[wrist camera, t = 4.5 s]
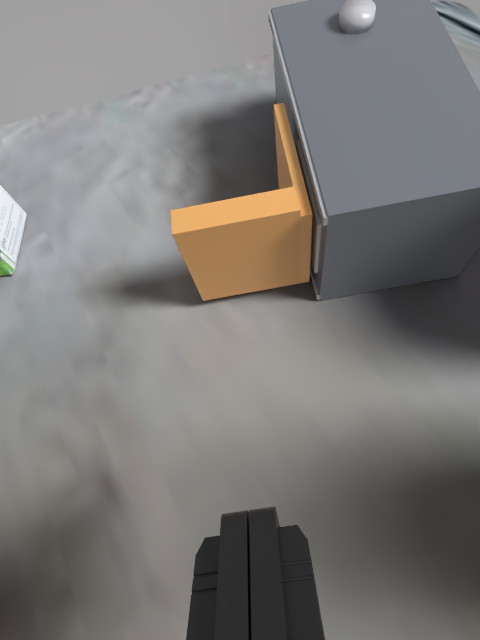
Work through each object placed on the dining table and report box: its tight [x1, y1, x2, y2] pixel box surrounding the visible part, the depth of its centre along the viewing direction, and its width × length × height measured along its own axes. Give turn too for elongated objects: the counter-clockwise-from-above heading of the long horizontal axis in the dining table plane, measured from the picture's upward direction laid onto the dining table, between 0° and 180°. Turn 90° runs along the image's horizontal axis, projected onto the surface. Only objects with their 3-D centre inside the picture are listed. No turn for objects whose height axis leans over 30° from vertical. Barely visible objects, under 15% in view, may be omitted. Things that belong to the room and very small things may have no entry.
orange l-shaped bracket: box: [170, 103, 312, 301], centre depth 26 cm, size 8×7×8 cm
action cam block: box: [268, 0, 480, 301], centre depth 27 cm, size 17×9×10 cm, turn 8°
